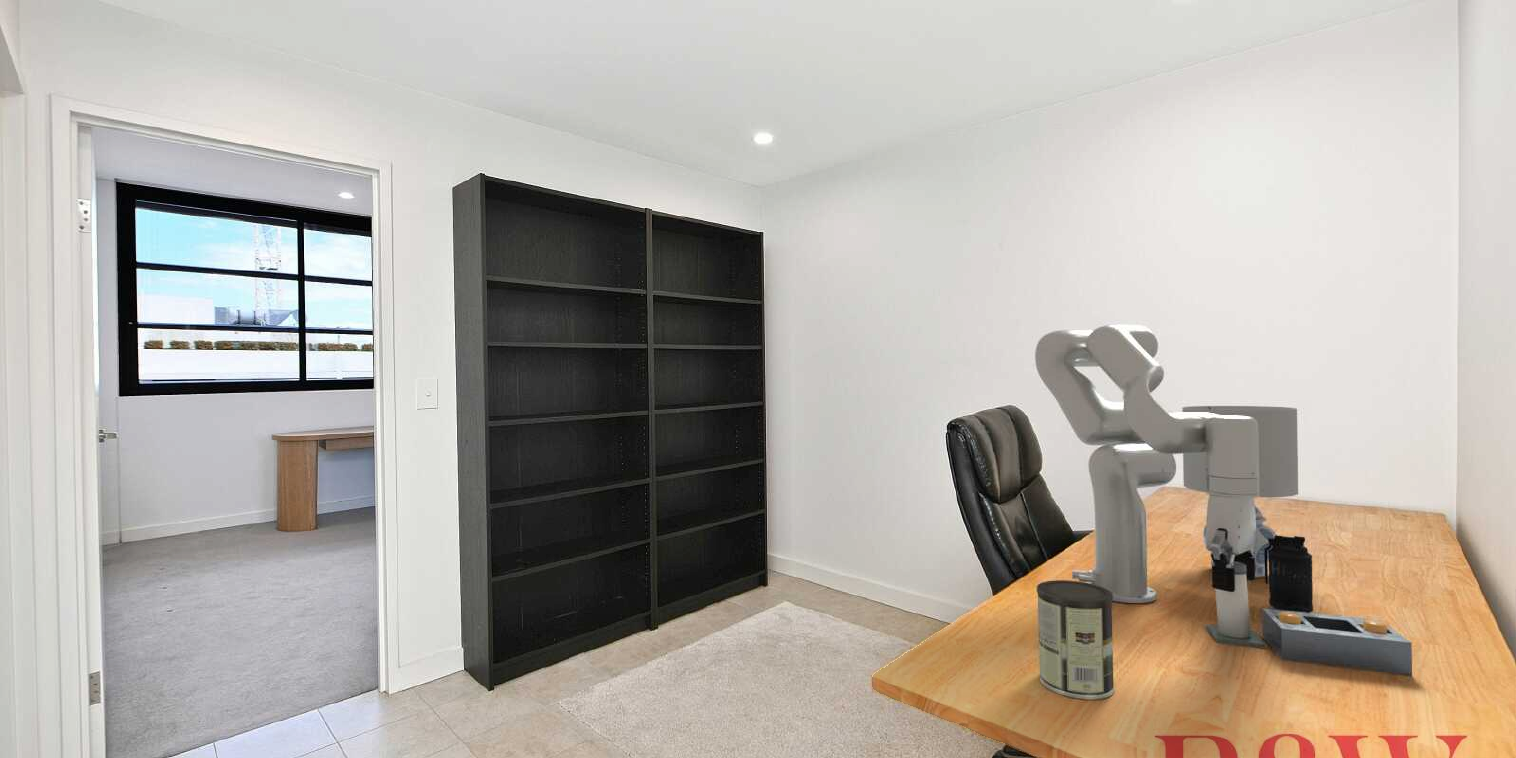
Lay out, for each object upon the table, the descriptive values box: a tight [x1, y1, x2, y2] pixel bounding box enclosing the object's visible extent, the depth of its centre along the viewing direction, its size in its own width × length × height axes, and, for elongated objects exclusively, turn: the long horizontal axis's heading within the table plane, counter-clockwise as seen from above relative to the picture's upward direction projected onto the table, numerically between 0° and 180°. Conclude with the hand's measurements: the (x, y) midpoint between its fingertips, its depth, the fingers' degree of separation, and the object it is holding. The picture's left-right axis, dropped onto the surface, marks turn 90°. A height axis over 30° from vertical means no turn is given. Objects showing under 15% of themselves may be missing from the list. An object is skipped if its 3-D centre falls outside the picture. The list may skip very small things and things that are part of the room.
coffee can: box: [1036, 579, 1115, 701], centre depth 99 cm, size 10×10×14 cm
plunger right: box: [1363, 620, 1388, 633], centre depth 105 cm, size 3×3×5 cm
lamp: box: [1181, 405, 1299, 579], centre depth 153 cm, size 22×22×38 cm
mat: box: [1205, 624, 1266, 649], centre depth 115 cm, size 7×7×1 cm
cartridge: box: [1214, 561, 1251, 638], centre depth 115 cm, size 5×5×12 cm
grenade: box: [1264, 534, 1314, 613], centre depth 126 cm, size 7×7×15 cm
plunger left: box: [1279, 612, 1301, 624], centre depth 110 cm, size 3×3×5 cm
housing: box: [1261, 607, 1413, 677], centre depth 108 cm, size 16×10×5 cm, turn 67°
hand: (1233, 584), depth 115 cm, fingers open, 9 cm apart
